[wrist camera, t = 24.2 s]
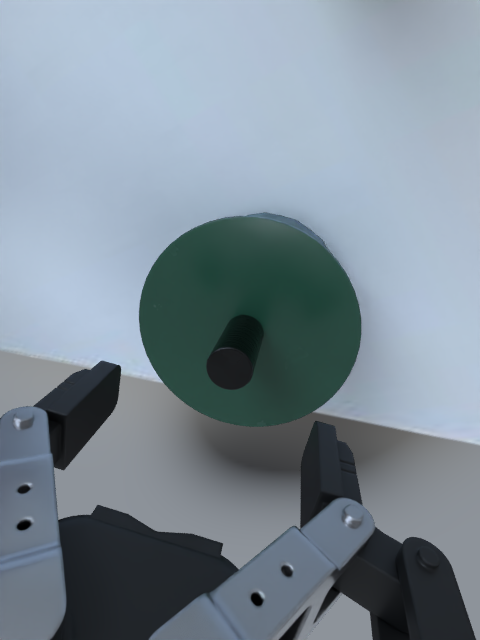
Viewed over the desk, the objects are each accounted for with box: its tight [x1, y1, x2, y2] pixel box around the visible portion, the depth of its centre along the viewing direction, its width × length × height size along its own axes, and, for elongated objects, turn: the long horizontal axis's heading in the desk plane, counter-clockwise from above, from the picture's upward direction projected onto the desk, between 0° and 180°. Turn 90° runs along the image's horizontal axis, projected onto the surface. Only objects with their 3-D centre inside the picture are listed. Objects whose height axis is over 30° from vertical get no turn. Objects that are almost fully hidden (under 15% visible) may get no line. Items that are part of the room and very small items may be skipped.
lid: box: [139, 216, 361, 427], centre depth 20 cm, size 13×13×6 cm
